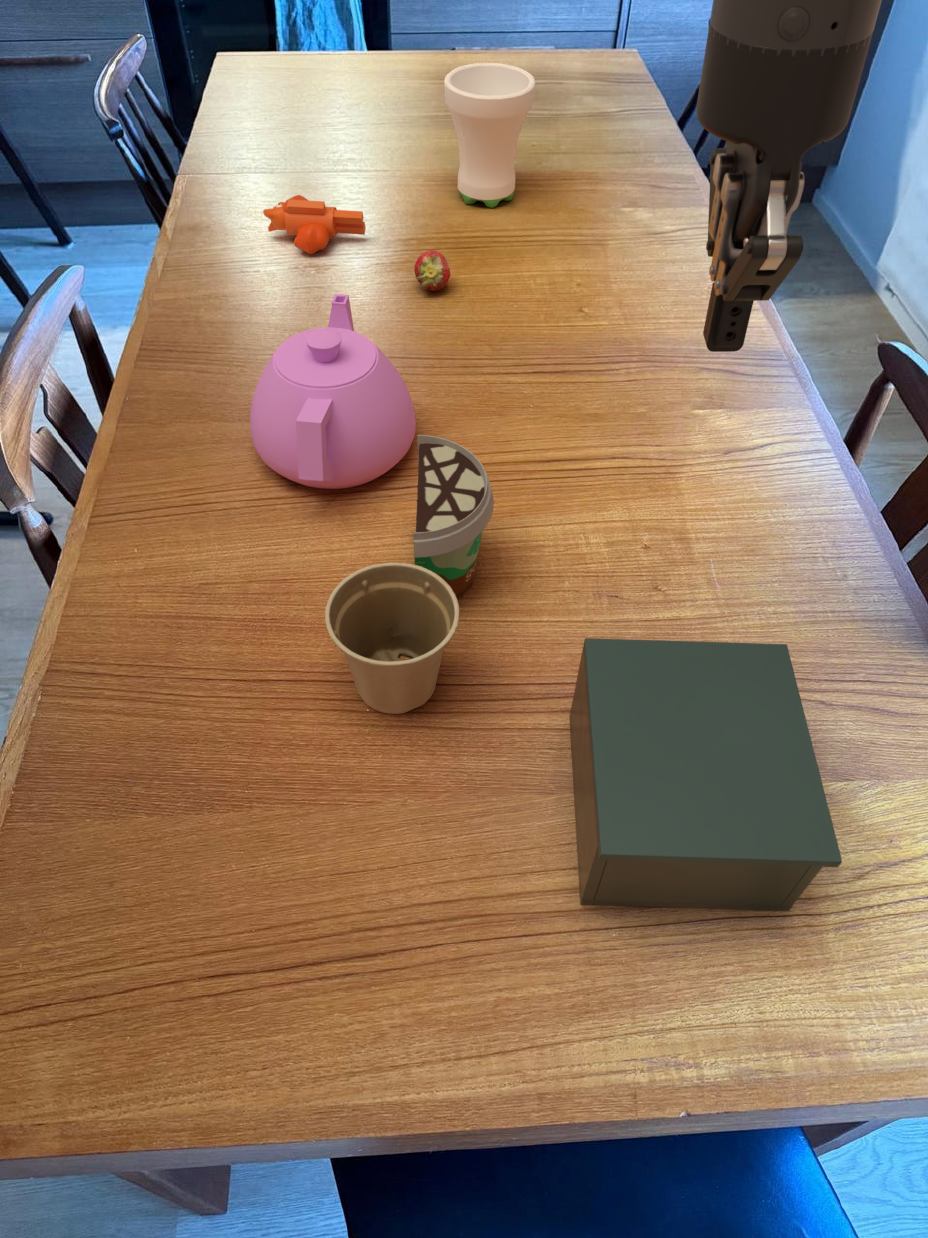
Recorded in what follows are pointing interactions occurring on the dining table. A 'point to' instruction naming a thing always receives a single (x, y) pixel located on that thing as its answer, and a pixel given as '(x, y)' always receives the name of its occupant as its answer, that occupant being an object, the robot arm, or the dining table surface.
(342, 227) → the orange long irregular piece
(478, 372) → the dining table surface
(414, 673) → the flower pot
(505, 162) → the cup
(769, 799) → the lid
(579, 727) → the caddy
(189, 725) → the dining table surface
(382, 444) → the teapot
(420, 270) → the fruit
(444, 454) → the food container
